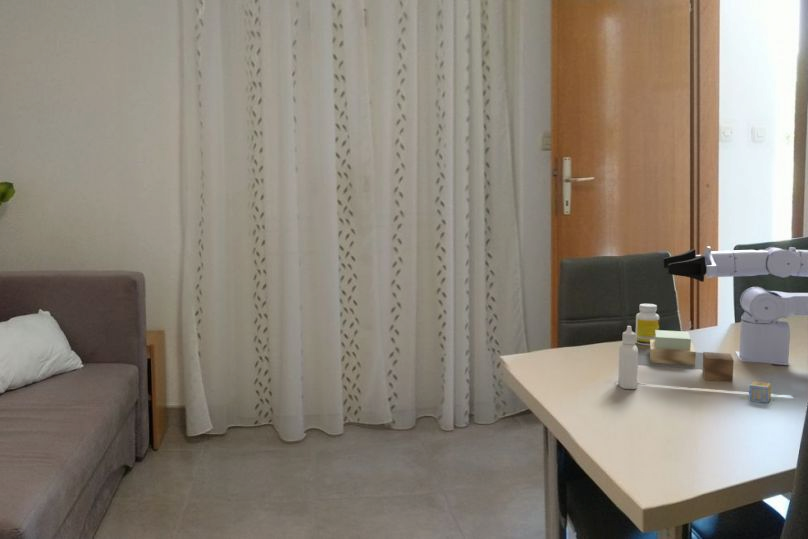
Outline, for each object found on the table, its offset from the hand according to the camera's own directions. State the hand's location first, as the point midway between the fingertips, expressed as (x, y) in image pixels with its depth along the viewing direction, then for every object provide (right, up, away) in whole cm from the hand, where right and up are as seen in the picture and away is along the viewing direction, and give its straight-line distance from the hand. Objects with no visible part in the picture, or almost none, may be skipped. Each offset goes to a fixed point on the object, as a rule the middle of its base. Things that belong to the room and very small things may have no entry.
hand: (665, 266), depth 149 cm
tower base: (+1, -21, -2) cm, 21 cm away
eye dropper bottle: (-15, -24, -18) cm, 34 cm away
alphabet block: (+6, -25, -28) cm, 38 cm away
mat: (+1, -21, -2) cm, 21 cm away
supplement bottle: (0, -19, +13) cm, 23 cm away
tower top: (+1, -18, -2) cm, 18 cm away
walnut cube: (+4, -23, -16) cm, 28 cm away
